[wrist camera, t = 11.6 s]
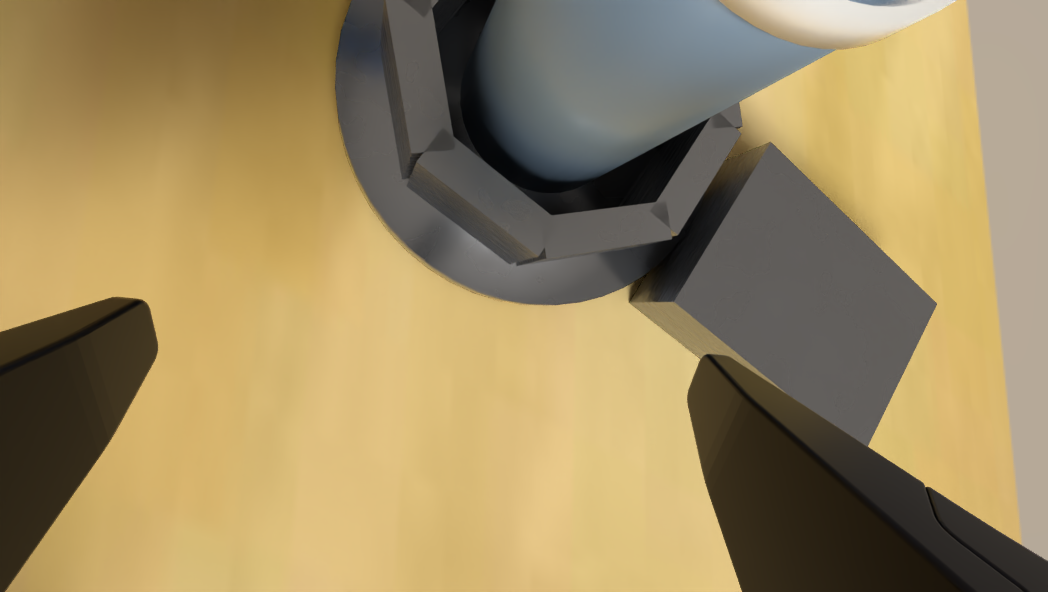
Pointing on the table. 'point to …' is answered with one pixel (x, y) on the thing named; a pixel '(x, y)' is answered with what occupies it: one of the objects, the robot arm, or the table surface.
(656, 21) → the duct elbow
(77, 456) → the robot arm
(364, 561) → the table surface
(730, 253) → the duct collar
